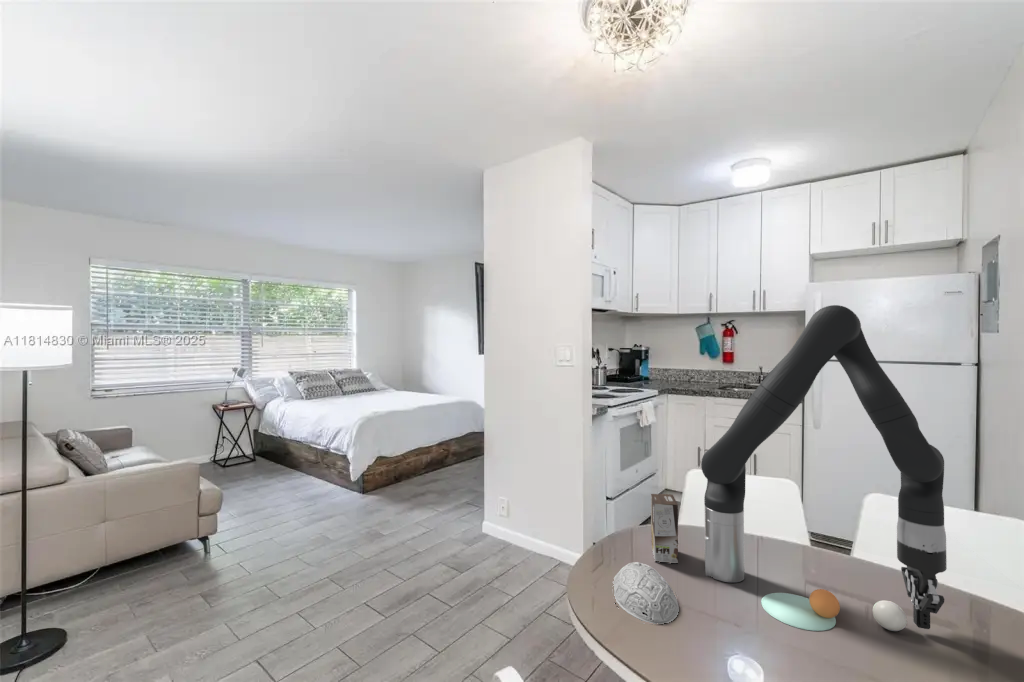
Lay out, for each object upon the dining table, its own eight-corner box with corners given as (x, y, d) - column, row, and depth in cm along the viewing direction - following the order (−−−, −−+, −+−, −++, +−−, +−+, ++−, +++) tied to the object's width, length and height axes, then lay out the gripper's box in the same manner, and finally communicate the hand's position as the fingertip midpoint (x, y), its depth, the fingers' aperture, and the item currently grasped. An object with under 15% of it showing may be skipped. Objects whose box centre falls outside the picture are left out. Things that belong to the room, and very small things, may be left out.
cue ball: (917, 619, 91) (905, 642, 92) (903, 602, 96) (892, 624, 97) (885, 605, 92) (874, 628, 93) (874, 590, 98) (863, 612, 98)
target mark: (766, 622, 97) (766, 621, 97) (757, 588, 110) (757, 588, 110) (844, 637, 92) (844, 636, 92) (825, 600, 105) (825, 599, 105)
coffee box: (679, 564, 122) (678, 504, 122) (654, 562, 124) (653, 503, 124) (674, 549, 131) (673, 493, 131) (650, 547, 133) (650, 492, 133)
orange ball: (849, 618, 95) (822, 627, 97) (841, 604, 100) (816, 612, 102) (832, 593, 96) (806, 602, 98) (825, 580, 101) (801, 589, 103)
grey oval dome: (619, 625, 96) (622, 593, 96) (603, 572, 121) (605, 546, 121) (694, 635, 95) (696, 603, 95) (662, 580, 120) (664, 554, 120)
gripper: (885, 526, 100) (886, 605, 100) (912, 552, 88) (913, 642, 88) (928, 531, 98) (929, 612, 98) (962, 559, 85) (963, 651, 85)
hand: (921, 626), depth 93 cm, fingers closed
